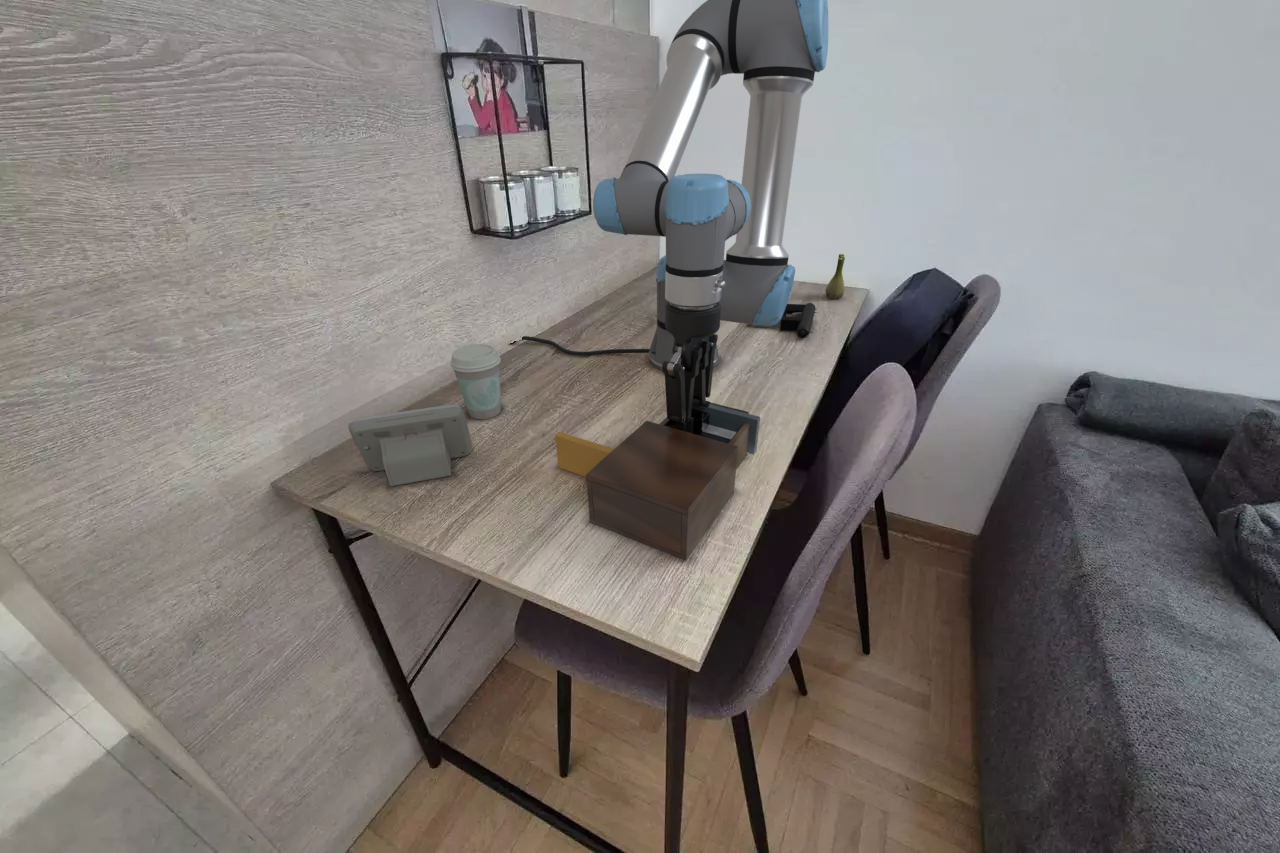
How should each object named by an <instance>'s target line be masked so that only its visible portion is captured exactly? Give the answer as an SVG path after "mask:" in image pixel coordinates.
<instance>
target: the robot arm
mask: <svg viewBox="0 0 1280 853" xmlns="http://www.w3.org/2000/svg"><path fill="white" fill-rule="evenodd" d="M828 2H829V1H828V0H705V2H703V3H702V4H700V5H699V7H697V8H696V9H695V10H694V11H692V13H691V14H690V15H689V16H688V17H687V18H686V20H685V21H684V22H683V23H682V25H681V26H680V27H679V29H678V30H677V32H675V34H674V37H673V39H672V41H671V43H670V44H669V48H668V50H667V53H666V60H665V61H666V62H665V63H666V68H667V69H666V71H665V72H664V75H663V77H662V80H661V82H660V84H659V87H658V89H657V91H656V93H655V96H654V98H653V100H652V103H651V105H650V108H649V110H648V112H647V114H646V117H645V119H644V121H643V124H642V125H641V127H640V128H641V129H640V130H639V133H638V135H637V137H636V140H635V142H634V143H633V144H634V145H633V147H632V148H631V151H630V154H629V156H628V159H627V161H626V163H625V165H624V167H623V170H622V172H621V174H620V176H619V178H616V177H612V178H604V179H603V180H602V181H600V182H598V184H596V187H595V190H594V192H593V199H592V210H593V217H594V220H596V224H597V226H598V227H599V228H600V229H601V231H605V232H607V233H613V234H619V235H623V236H628V235H634V236H650V237H664V238H665V255H664V256H662V257H661V258H660V259H659V260H658V262H657V272H656V279H655V283H656V329H655V332H654V335H653V338H652V341H651V343H650V346H649V348H615V349H614V348H613V349H601V350H591V351H577V350H570V349H566V348H564V347H562V346H561V345H560V344H558V343H556V342H555V341H553V340H549V339H545V338H544V339H543V338H540V337H534V336H530V335H529V336H528V335H522V336H523V337H522V340H519V341H532V342H536V343H540V344H546V345H549V346H553V347H554V348H555V349H557V350H559V351H560V352H561V353H563V354H566V355H571V356H578V357H579V356H582V357H584V356H585V357H586V356H598V355H599V356H600V355H609V354H648V363H649V365H650V366H651V367H652V368H654V369H656V370H657V371H660V372H662V373H663V375H664V386H665V406H666V417H667V419H670V420H673V421H675V429H678V430H682V431H685V432H689V433H692V434H696V435H699V436H702V433H699V432H695V431H693V425H694V418H693V417H691V412H692V409H695V410H699V411H703V408H702V406H703V407H707V408H708V407H709V405H710V402H711V401H709V400H707V399H709V398H710V397H711V394H712V383H713V373H714V369H715V368H716V367H717V366H718V365H719V361H720V353H721V350H720V348H719V347H718V340H719V336H718V334H716V333H718V332H719V330H720V328H721V321H722V322H728V323H729V322H731V323H739V324H745V325H749V324H752V326H751V327H754V326H756V325H762V326H773V325H775V324H777V323H778V322H779V321H780V319H781V318H782V316H783V313H784V311H785V308H786V305H787V304H788V302H789V299H790V296H791V292H792V289H793V286H794V282H795V275H796V268H795V266H794V265H792V264H788V262H789V256H790V255H789V253H788V251H786V249H785V248H784V247H783V238H784V233H785V232H784V231H785V224H786V217H787V210H788V203H789V202H788V201H789V197H790V196H789V195H790V187H791V179H792V173H793V166H794V160H795V159H794V158H795V151H796V143H797V136H798V130H799V129H798V128H799V122H800V114H801V108H802V99H803V96H804V95H805V94H806V93H807V92H808V91H809V90H810V89H811V88H812V87H813V85H814V82H815V81H814V80H815V74H816V73H820V72H822V71H824V70H825V69H826V66H827V58H828V51H829V3H828ZM731 74H735V75H740V74H742V75H743V77H742V78H743V79H742V86H743V87H744V89H745V90H746V91H747V92H748V94H749V96H750V99H749V108H748V117H747V128H746V138H745V147H744V156H743V157H744V158H743V167H742V175H741V176H742V177H741V183H740V182H738V181H736V180H732V179H726V177H725V176H722V175H720V174H717V173H685V174H678V175H676V174H677V171H678V168H679V165H680V163H681V160H682V158H683V155H684V153H685V151H686V149H687V146H688V143H689V141H690V138H691V135H692V133H693V130H694V128H695V125H696V123H697V121H698V118H699V115H700V113H701V110H702V108H703V105H704V102H705V101H706V98H707V95H708V93H709V91H710V90H712V89H714V87H715V86H716V85H717V84H718V82H719V80H720V79H721V77H722V76H726V75H731ZM733 236H735V242H734V243H733V245H731V246H730V247H729V248H728V249H727V250H726V254H725V249H726V248H725V247H726V241H727V240H729V239H730V238H732V237H733ZM519 341H514V342H513V343H510V342H509V343H510V344H509V343H508V345H509V346H511V345H514V344H515V343H518V342H519Z"/></svg>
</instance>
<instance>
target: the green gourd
mask: <svg viewBox="0 0 1280 853" xmlns="http://www.w3.org/2000/svg"><path fill="white" fill-rule="evenodd" d="M845 260H846V257H845V254H844V253H839V254H838V258H837V264H836V268H835V272H834V275H833V276H832V278H831V279H830V280H829V282H828V283H827V286H826V288H825V295H826V297H827V298H828V299H832V300H838V299H841V298H843V297H844V293H845V281H844V276H843V268H844V264H845Z"/></svg>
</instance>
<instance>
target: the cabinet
mask: <svg viewBox="0 0 1280 853" xmlns="http://www.w3.org/2000/svg"><path fill="white" fill-rule="evenodd" d="M613 449H614V450H613V451H612V452H610V453H609V454H608V455H607V456H606V457H605V458H604V459H603V460H601V461H600V462H599V463H598V464H597V465H596V466H595V467H594V468H592V469H591V470H590V471H589V472H588V473H587V474H586V477H585V479H586V480H585V481H586V493H587V505H588V515H589V517H588V518H589V523H590V524H593V525H595V526H598V527H600V528H603V529H606V530H608V531H611V532H613V533H615V534H618V535H621V536H622V537H626V538H628V539H630V540H633V541H636V542H638V543H641V544H643V545H646V546H648V547H649V548H650V547H651V548H653V549H655V550H658V551H660V552H663V553H666V554H668V555H670V556H672V557H675V558H677V559H681V560H683V561H688V559H689V558H690V556H691V554H692V553H693V552H694V551H695V549H696V548H697V546H698V545H699V543H700V542H701V541H702V539H703V538H704V537H705V534H706V533H707V532H708V531H709V529H710V528H711V526H712V525H713V523H714V522H715V520H716V519H717V518H718V516H719V515H720V514H721V512H722V511H723V509H725V506H726V505H727V503H728V502H729V501H730V499H731V498H732V497H733V495H734V494H735V486H736V474H737V469H736V465H737V454H738V446H735V445H731V444H728V443H724V442H720V441H717V440H713V439H710V438H706V437H703V436H699V435H696V434H692V433H689V432H685V431H682V430H678V429H674V428H671V427H667V426H664V425H660V423H656V422H654V421H649V420H645V421H644V422H643V423H642V424H640V426H638V427H637V428H636V429H635V430H634V431H633V432H632V433H631V434H629V435H628V436H627V437H626V438H625V439H624V440H622V441H621V442H620V443H619V444H618V445H617V446H616V447H615V448H613Z"/></svg>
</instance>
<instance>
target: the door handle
mask: <svg viewBox="0 0 1280 853" xmlns="http://www.w3.org/2000/svg"><path fill="white" fill-rule="evenodd" d="M815 314H818V312H816V304H814V303H813V302H808V303H805V304H803V303H802V304H801V303H800V304H799V303H787V305H786V308H785V311H784V313H783V315H782V317H781V319H780V321H779V322H778V323H777V324H775V325H773V326H762V325H756V326H752V324H748V327H753V328H754V327H755V328H777V329H779V330H780V332H796V336H797V337H798V338H799V339H801V340H802V339H803V340H804V339H806V338H807V337H808V336H809V335H810V333H814V331H811V328H812V324H813V320H814V317H815Z"/></svg>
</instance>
